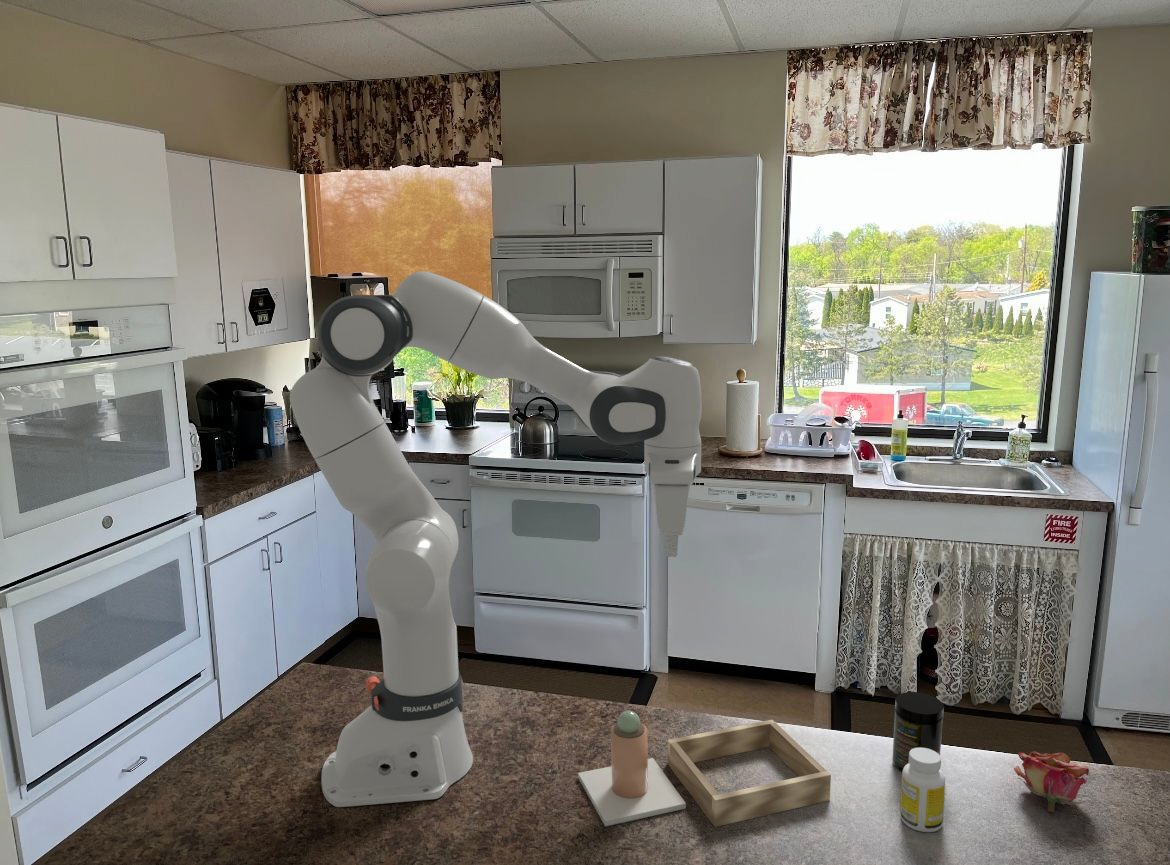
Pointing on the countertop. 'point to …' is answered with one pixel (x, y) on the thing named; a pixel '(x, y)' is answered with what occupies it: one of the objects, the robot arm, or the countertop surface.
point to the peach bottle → (629, 756)
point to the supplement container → (916, 725)
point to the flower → (1052, 777)
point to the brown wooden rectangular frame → (755, 799)
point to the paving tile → (627, 809)
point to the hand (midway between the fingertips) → (672, 545)
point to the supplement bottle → (923, 791)
